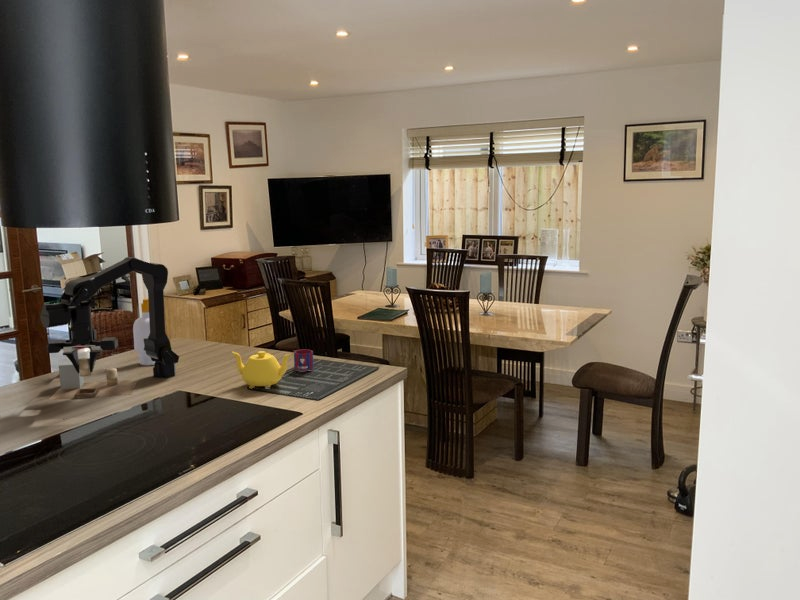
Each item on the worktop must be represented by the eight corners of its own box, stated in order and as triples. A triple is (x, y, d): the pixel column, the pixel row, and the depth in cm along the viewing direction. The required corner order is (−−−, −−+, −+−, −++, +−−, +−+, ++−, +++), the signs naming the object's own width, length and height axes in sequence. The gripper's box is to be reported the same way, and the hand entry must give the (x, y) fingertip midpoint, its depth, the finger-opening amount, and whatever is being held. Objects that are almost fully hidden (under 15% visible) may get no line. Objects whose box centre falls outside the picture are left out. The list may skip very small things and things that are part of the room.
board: (139, 383, 212) (138, 375, 211) (131, 399, 196) (130, 390, 196) (63, 388, 206) (62, 380, 206) (48, 404, 191) (48, 396, 190)
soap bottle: (171, 362, 238) (167, 298, 234) (147, 368, 230) (142, 302, 226) (153, 358, 244) (149, 295, 240) (129, 364, 235) (124, 299, 231)
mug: (293, 372, 225) (292, 353, 224) (297, 365, 235) (296, 347, 234) (312, 372, 225) (311, 354, 224) (315, 365, 235) (315, 347, 234)
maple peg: (92, 373, 196) (91, 357, 196) (90, 376, 193) (88, 360, 192) (81, 373, 196) (79, 358, 195) (78, 376, 193) (77, 360, 192)
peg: (118, 382, 208) (117, 367, 207) (116, 385, 205) (115, 370, 204) (108, 383, 207) (106, 368, 206) (106, 386, 204) (104, 371, 203)
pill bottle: (74, 378, 218) (71, 347, 216) (63, 374, 222) (60, 343, 220) (96, 373, 224) (93, 342, 222) (85, 369, 228) (82, 339, 226)
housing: (84, 383, 207) (82, 359, 206) (80, 388, 202) (78, 364, 201) (65, 384, 206) (63, 360, 205) (60, 389, 201) (58, 365, 199)
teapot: (298, 378, 218) (297, 346, 216) (287, 392, 203) (286, 357, 202) (241, 377, 220) (239, 344, 218) (226, 390, 205) (224, 356, 203)
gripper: (119, 315, 202) (123, 363, 204) (54, 318, 197) (59, 367, 200) (112, 323, 191) (116, 373, 194) (43, 326, 187) (48, 377, 189)
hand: (85, 372), depth 194 cm, fingers closed on maple peg, 3 cm apart
